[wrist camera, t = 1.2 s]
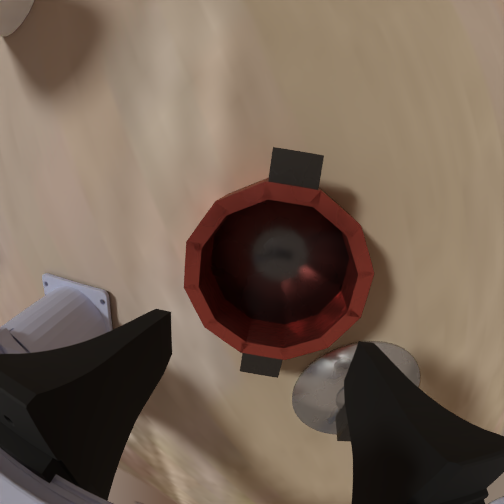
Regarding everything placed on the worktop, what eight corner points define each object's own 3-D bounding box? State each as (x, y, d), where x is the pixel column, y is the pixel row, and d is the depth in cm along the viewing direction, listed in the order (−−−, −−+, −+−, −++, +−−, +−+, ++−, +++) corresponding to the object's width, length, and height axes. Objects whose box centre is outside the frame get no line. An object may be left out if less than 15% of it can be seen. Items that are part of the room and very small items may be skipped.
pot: (330, 356, 22) (335, 386, 18) (196, 333, 22) (182, 360, 19) (378, 169, 17) (397, 172, 14) (212, 141, 18) (196, 138, 15)
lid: (387, 430, 24) (393, 455, 21) (280, 423, 25) (278, 451, 22) (437, 343, 21) (453, 368, 17) (310, 329, 22) (312, 357, 18)
